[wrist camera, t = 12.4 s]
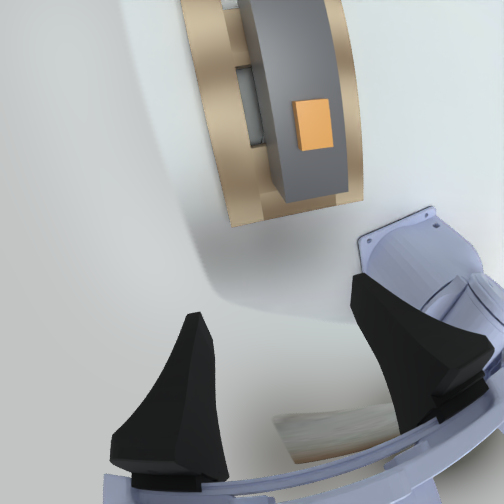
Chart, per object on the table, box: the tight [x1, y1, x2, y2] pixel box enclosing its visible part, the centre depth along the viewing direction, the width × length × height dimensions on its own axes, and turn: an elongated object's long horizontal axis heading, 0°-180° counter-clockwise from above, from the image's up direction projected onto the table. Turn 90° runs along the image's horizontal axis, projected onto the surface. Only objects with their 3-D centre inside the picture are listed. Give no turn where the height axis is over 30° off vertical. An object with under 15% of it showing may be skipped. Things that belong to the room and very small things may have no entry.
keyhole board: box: [181, 0, 363, 227], centre depth 14 cm, size 22×10×2 cm, turn 10°
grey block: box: [237, 0, 349, 204], centre depth 13 cm, size 13×4×7 cm, turn 10°
